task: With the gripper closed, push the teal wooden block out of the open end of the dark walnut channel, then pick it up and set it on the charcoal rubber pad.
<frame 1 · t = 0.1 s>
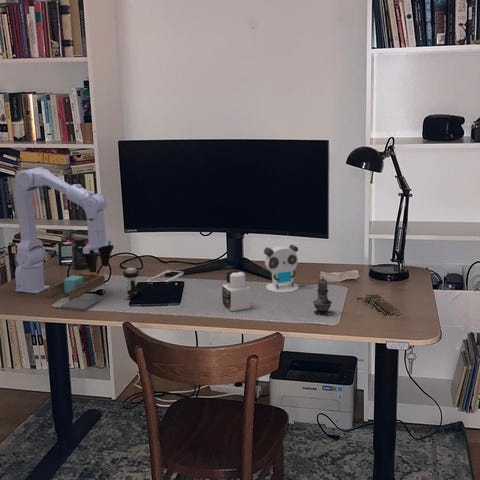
hand: (99, 268, 227), 10 cm above the table, tool pointing down, fingers open, 7 cm apart
block: (74, 291, 237), on the table
push button: (131, 297, 229), on the table
olive brown jagged slab: (378, 309, 215), on the table
supplement bottle: (81, 268, 266), on the table
phone case: (165, 279, 250), on the table
medicine bottle: (236, 307, 217), on the table
panda figurine: (281, 288, 236), on the table
pad: (80, 305, 221), on the table
dark grey chess piece: (322, 313, 210), on the table
channel: (77, 289, 238), on the table
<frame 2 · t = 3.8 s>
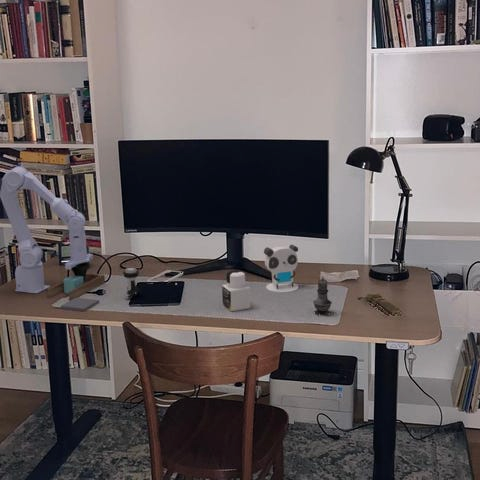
hand: (81, 283, 240), 2 cm above the table, tool pointing down, fingers closed
block: (74, 291, 237), on the table, touching gripper
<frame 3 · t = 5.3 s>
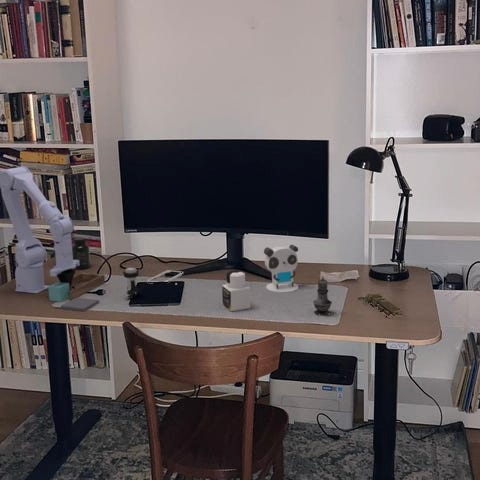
hand: (66, 290, 232), 2 cm above the table, tool pointing down, fingers closed
block: (60, 298, 229), on the table, touching gripper
everything else where it was.
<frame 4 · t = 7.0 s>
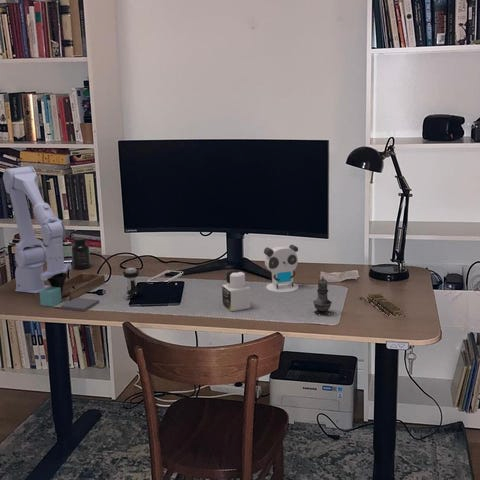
hand: (58, 294, 228), 2 cm above the table, tool pointing down, fingers closed
block: (51, 303, 224), on the table, touching gripper
everything else where it was.
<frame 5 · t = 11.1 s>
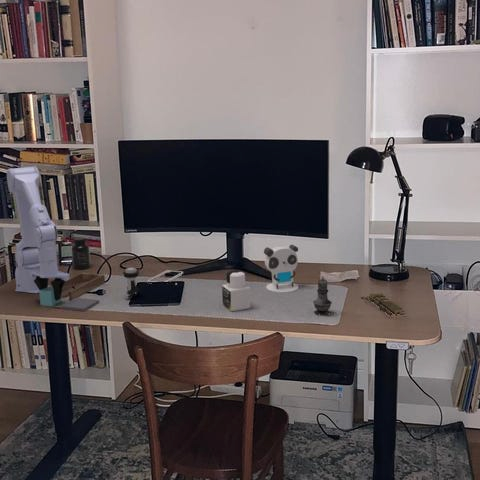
hand: (51, 298, 224), 1 cm above the table, tool pointing down, fingers closed on block, 4 cm apart
block: (51, 303, 224), on the table, touching gripper
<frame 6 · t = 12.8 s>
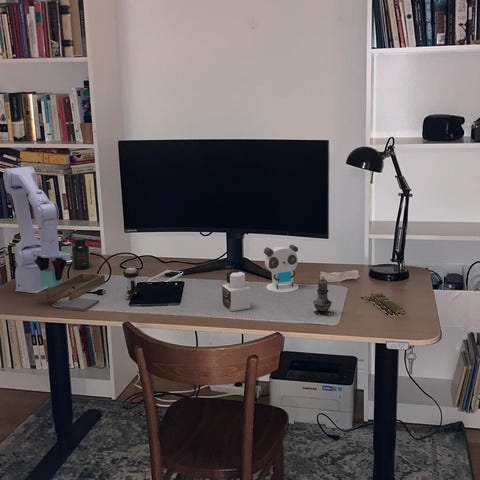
hand: (52, 279, 222), 8 cm above the table, tool pointing down, fingers closed on block, 4 cm apart
block: (52, 284, 222), point 7 cm above the table, touching gripper
when the fingers open (4 cm above the table, at t = 14.7 s): block stays where it is, resting on pad.
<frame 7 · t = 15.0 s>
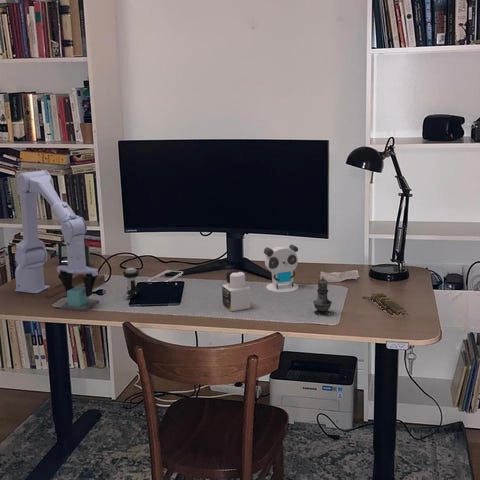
hand: (79, 294, 220), 4 cm above the table, tool pointing down, fingers open, 7 cm apart
block: (78, 303, 220), point 1 cm above the table, touching pad
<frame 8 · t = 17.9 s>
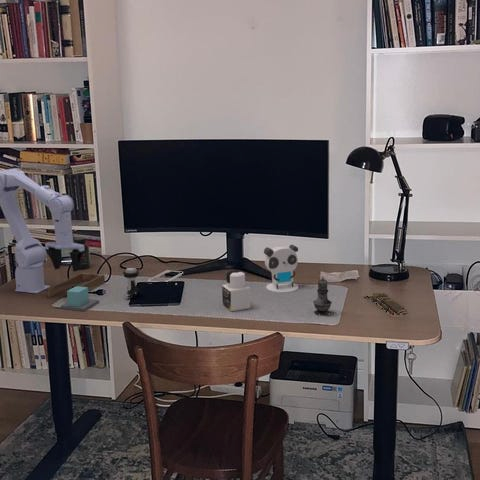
hand: (66, 269, 229), 9 cm above the table, tool pointing down, fingers open, 7 cm apart
at the end: block inside the target area on the pad (0.7 cm from its centre), point 1.0 cm above the pad's base; block tilted 0°; the gripper is holding nothing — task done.
